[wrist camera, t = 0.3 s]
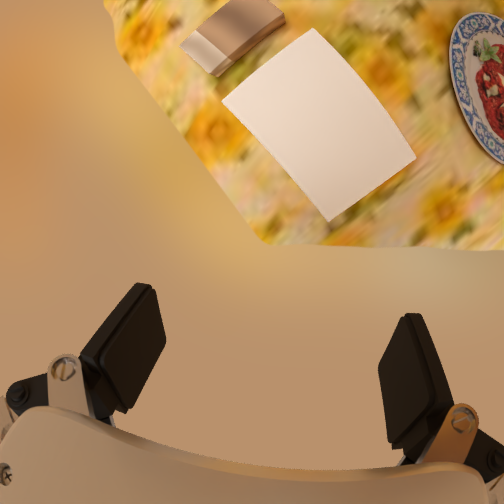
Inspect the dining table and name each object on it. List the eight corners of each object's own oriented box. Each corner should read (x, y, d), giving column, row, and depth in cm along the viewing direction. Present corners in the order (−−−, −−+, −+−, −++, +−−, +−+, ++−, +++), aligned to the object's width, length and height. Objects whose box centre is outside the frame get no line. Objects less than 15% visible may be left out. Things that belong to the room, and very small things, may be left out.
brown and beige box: (254, -3, 25) (249, -14, 21) (285, 22, 26) (283, 12, 23) (190, 51, 30) (178, 46, 26) (218, 77, 31) (209, 73, 28)
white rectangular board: (312, 29, 26) (312, 27, 26) (415, 157, 32) (416, 157, 31) (222, 101, 33) (221, 101, 32) (327, 220, 38) (327, 222, 38)
